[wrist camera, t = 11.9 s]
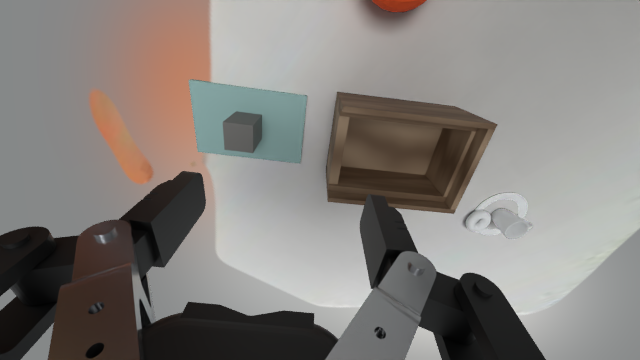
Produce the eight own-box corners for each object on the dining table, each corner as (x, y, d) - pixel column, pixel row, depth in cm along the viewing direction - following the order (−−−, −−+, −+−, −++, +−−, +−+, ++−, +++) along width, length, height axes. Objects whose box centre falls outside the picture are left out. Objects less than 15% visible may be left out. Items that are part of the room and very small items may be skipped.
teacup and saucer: (454, 225, 37) (469, 244, 33) (486, 183, 33) (506, 199, 30) (501, 237, 38) (520, 257, 35) (537, 198, 35) (562, 216, 31)
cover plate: (191, 79, 27) (165, 85, 22) (307, 94, 28) (305, 104, 23) (200, 149, 31) (179, 167, 26) (300, 160, 32) (297, 180, 27)
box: (337, 91, 27) (343, 106, 20) (455, 106, 28) (497, 124, 21) (325, 170, 32) (327, 201, 25) (426, 180, 33) (453, 213, 26)
